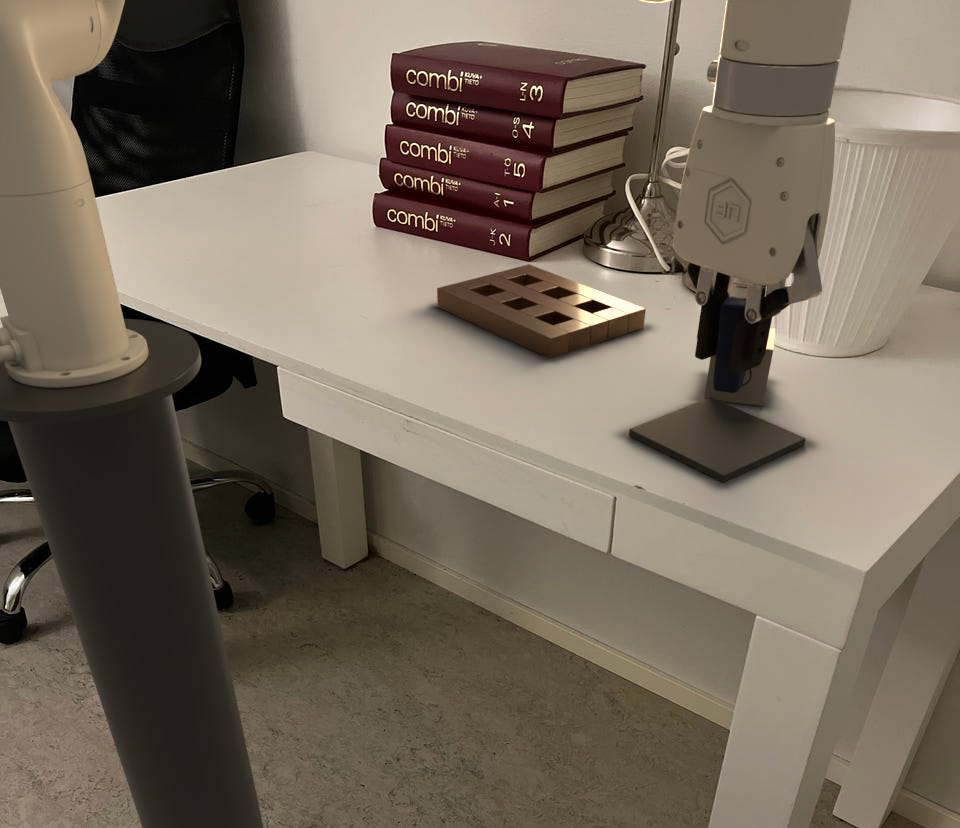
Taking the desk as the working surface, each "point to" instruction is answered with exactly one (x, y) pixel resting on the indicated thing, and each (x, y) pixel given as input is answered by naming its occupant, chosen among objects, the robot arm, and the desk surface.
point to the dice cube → (745, 380)
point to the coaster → (717, 438)
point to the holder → (541, 310)
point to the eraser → (728, 345)
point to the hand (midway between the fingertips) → (728, 359)
